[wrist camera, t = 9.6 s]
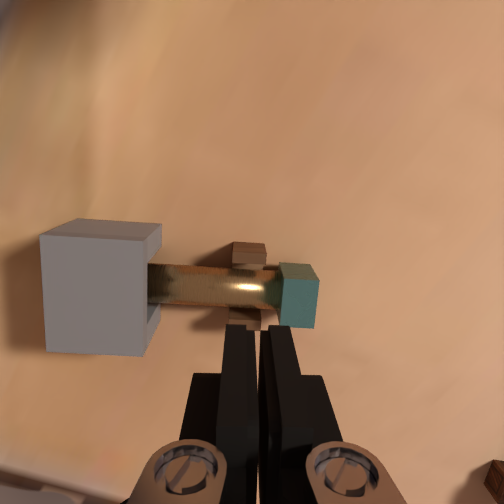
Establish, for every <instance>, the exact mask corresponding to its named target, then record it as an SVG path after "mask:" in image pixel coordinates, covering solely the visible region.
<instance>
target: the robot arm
mask: <svg viewBox="0 0 504 504" xmlns="http://www.w3.org/2000/svg"><path fill="white" fill-rule="evenodd" d="M257 473H258V474H259V498H260V504H407V503H406V501H405V500H404V498H403V496H402V495H401V493H400V491H399V490H398V488H397V487H396V485H395V483H394V482H393V480H392V478H391V477H390V475H389V474H388V472H387V470H386V469H385V467H384V466H383V464H382V463H381V462H380V461H379V460H378V458H377V457H376V456H374V455H373V454H372V453H370V452H369V451H368V450H366V449H364V448H362V447H360V446H358V445H355V444H351V443H347V442H343V439H342V436H341V433H340V430H339V427H338V424H337V421H336V418H335V414H334V411H333V408H332V405H331V402H330V399H329V396H328V393H327V390H326V387H325V384H324V381H323V378H322V376H320V375H301V372H300V367H299V363H298V359H297V355H296V351H295V347H294V342H293V338H292V334H291V330H290V326H285V325H269V327H268V331H266V330H261V333H260V354H259V378H258V389H257V370H256V351H255V332H254V330H247V328H246V325H241V324H226V331H225V341H224V352H223V362H222V372H221V373H194V374H193V377H192V381H191V386H190V391H189V395H188V400H187V405H186V409H185V414H184V418H183V423H182V428H181V432H180V437H179V441H174V442H171V443H169V444H167V445H165V446H163V447H161V448H160V449H159V450H157V451H156V452H155V453H154V454H153V455H152V456H151V458H150V459H149V460H148V462H147V463H146V465H145V467H144V469H143V471H142V473H141V475H140V477H139V479H138V481H137V483H136V485H135V487H134V489H133V491H132V493H131V495H130V497H129V498H128V499H126V500H125V501H123V502H122V503H120V504H256V495H257Z"/></svg>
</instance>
